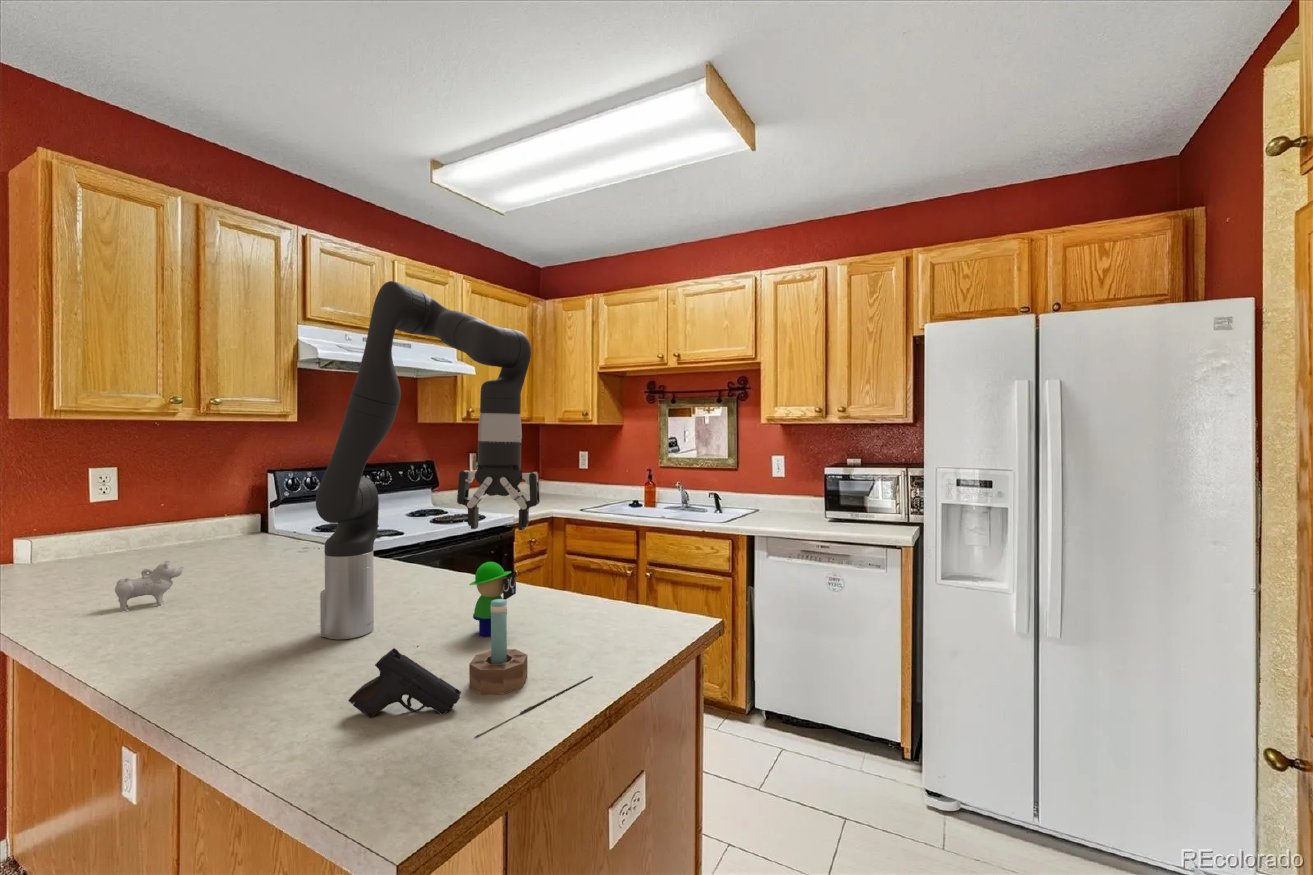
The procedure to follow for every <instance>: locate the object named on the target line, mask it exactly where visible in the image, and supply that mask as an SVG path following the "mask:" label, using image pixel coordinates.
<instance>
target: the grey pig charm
mask: <svg viewBox="0 0 1313 875" xmlns="http://www.w3.org/2000/svg"><path fill="white" fill-rule="evenodd" d="M184 569H185V568H184V565H183V566H179V565H174V564H171V563H170V560H168V559H167V560H164V561H163V562H162V563H160V564H158V565H157V566H156V567H155V568H154V569H152V568H148V567H147V568H144V569H142V570H141V572H140V574H141V577H140V578H134V579H131V578H130V577H125V578H124V577H123V578H120V579H119V580H117V582H116V586H115V588H114V593H115V595H116V596H117V598H118V600H117V601H118V602H119V608H120V612H122V611H126V612H128V611H127V610H129V609H128V608H129V607H128V606H129V604H128V601H129V600H130V599H134V598H137V597H143V596H153V597H154V599H155V600H156V601H155V602H156V605H157V607H158V606H161V605H164V606H165V603H164V602H165V600H163V598H164V594H165V593H166V592H167V591H168V590H170V588H171V587H172V586H173V584H174V582H173V580H172V579H175V578H178V577H180V576H182V573H183V571H184ZM161 607H162V606H161ZM122 613H123V612H122Z"/></svg>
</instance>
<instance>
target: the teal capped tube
mask: <svg viewBox="0 0 1313 875" xmlns="http://www.w3.org/2000/svg"><path fill="white" fill-rule="evenodd" d="M507 615H508V600H507V599H506V600H505V599H496V600H492V601H491V636H490V651H491V664H503V663H506V662H507V649H508V648H507V647H508V645H507V644H508V643H507V640H508V637H507V636H508V635H507V634H508V630H507V629H508V626H507V625H508V616H507Z"/></svg>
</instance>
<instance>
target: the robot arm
mask: <svg viewBox="0 0 1313 875" xmlns="http://www.w3.org/2000/svg"><path fill="white" fill-rule="evenodd" d="M369 320H370V321H369V326H368V332H367V336H366V342H365V345H364V351H363V354H362V358H361V361H360V366H359V368H358V371H357V376H356V378H355V382H354V384H353V387H352V391H351V393H350V396H349V400H348V403H347V406H346V410H345V415H344V419H343V421H342V422H343V423H342V425H341V427H340V431H339V434H338V437H337V441H336V444H335V447H334V450H333V453H332V455H331V458H330V461H328V462H329V463H328V464H327V467H326V470H325V472H324V473H323V476H322V479H321V481H320V484H319V486H318V488H317V492H316V495H315V508H316V511H317V514H318V515H319V517H320V518H321V519H322V521H325V522H327V523H329V524H337V527H336V529H335V531H334V532H333V534H331V536H329V537H328V538H327V539H326V541H325V542H324V589H323V590H321V591H320V595H319V596H320V597H319V600H320V601H319V602H320V603H319V604H320V607H319V608H320V614H319V615H320V616H319V617H320V620H319V622H320V626H319V627H320V628H319V629H320V631H319V632H320V638H327V639H329V640H348V639H355V638H359V637H362V636H365V635H368V634H370V633H372V631H374V629H375V628H374V626H375V625H374V624H375V621H374V620H375V617H374V613H375V609H374V607H375V606H374V604H375V600H374V599H375V597H374V596H375V595H374V589H375V588H374V580H375V579H374V545H375V544H374V543H375V540H376V538H377V536H378V528H379V510H380V509H379V508H380V503H379V502H380V501H379V492H378V489H377V486H376V485H375V484H374V482H373V481H372V480H370V479H369V478H367V477H365V476H363V474H364V470H365V467H366V465H367V463H368V461H369V459H370V458H371V456H372V455H373V453H374V451H376V449H377V448H378V447H379V445H380V444H381V443H382V442H383V441H384V439H385V438H386V436H387V435H388V433H389V432H390V430H391V429H392V427H393V424H394V422H395V419H396V415H397V413H398V409H399V405H400V403H401V397H402V392H401V391H402V390H401V385H400V381H399V378H398V374H397V370H396V369H395V365H394V360H393V351H392V350H393V348H392V347H393V343H394V336H395V333H396V330H397V331H400V332H403V333H407V334H409V335H410V334H411V335H419V336H428V337H435V338H438V339H440V341H441V342H442V343H444V344H446V346H448V347H451V348H453V349H454V350H457V351H460V352H462V353H464V354H466V355H467V357H469V358H470V359H472V360H473V361H474V362H477V363H479V364H481V365H485V366H490V367H498V368H501V369H500V372H499V375H498V377H497V378H496V379H491V380H486V381H484V382H483V383H482V384H481V388H480V394H479V395H480V396H479V397H480V398H479V401H480V403H479V404H480V406H479V407H480V408H479V421H478V427H477V429H478V434H477V435H478V436H477V438H478V439H477V470H476V471H470V470H469V469H466V470H462V471H461V470H460V471H459V473H458V482H457V483H458V484H457V495H456V496H457V498H456V503H457V504H458V505H463V506H465V507H466V508H467V525H468V526H469V527H470V530H476V529H478V528H479V516H480V515H479V511H480V508H479V506H478V505H479V504H480V503H481V501H482V500H483V499H484V498H485V497H486V495H488V496H489V497H491V496H492V497H493V496H500V497H508V496H510V497H511V499H512V500H513V501H515V502H516V504H517V505H518V506H519V507H520V508H519V509H518V527H517V528H518V531H524V530H525V529H526V528H527V527H528V525H529V521H530V519H529V518H530V517H529V515H530V513H529V512H530V508H532V507H536V506H537V505H539V504H540V502H541V501H540V500H541V499H540V477H539V476H540V474H539V473H538V472H537V471H533V472H523V471H522V439H523V433H522V431H523V430H522V419H521V410H522V408H521V406H522V398H521V397H522V389H523V386H524V384H525V380H526V375H527V373H528V370H529V366H530V362H531V357H532V347H531V342H530V340H529V338H528V336H527V335H526V334H525V333H524V332H522V331H520V330H516V329H512V328H505V327H501V326H498V325H497V326H496V325H492V324H489V323H488V322H487V321H485V320H483V319H481V318H479V317H476V316H474V315H472V314H468V313H466V312H462V311H458V310H451V309H449V308H447V307H445V306H444V305H442V304H441V303H439V302H438V301H437V300H436V299H434V298H433V297H431V296H430V295H428V293H425V292H423V291H421V290H418V289H415V288H413V287H411V286H407V285H405V284H403V283H400V282H398V281H394V280H391V281H390V280H389V281H386V282H385V283H383V285H382V286H381V287H380V288H379V290H378V292H377V295H376V297H375V298H374V303H373V307H372V310H371V316H370V319H369ZM474 479H475V480H476V482H477V483H478V485H479V487H478V488H477V490H475V492H474V494H473V495H472V497H471V498H469V493H470V484H471V483H472V482H474ZM523 480H524V481H525V483H526V485H528V486H529V500H528V499H527V497H526V496H525V495H524V492H523V491H522V490H521V488H520V487H519V485H520V484H521V483H522V481H523Z"/></svg>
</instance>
